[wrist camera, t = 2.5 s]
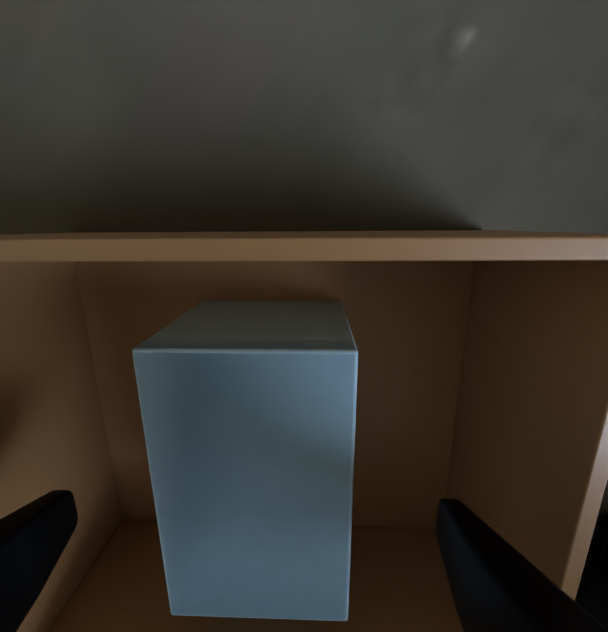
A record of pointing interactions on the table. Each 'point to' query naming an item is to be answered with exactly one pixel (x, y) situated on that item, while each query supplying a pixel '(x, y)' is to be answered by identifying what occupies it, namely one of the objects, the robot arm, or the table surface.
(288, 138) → the table surface
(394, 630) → the carton
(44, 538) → the robot arm
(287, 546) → the case
